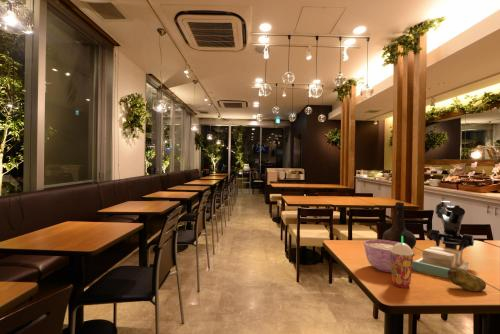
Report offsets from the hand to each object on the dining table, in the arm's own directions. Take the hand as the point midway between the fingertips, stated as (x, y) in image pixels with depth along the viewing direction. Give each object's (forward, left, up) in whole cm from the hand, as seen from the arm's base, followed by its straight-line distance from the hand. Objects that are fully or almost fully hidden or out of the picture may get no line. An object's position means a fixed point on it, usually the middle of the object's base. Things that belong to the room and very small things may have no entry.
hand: (447, 250), depth 154 cm
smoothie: (+48, -5, -7) cm, 49 cm away
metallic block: (+9, 0, -7) cm, 11 cm away
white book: (+12, 0, -7) cm, 14 cm away
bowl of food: (+33, -18, -7) cm, 38 cm away
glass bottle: (-7, -26, -7) cm, 28 cm away
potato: (+32, +14, -7) cm, 35 cm away
